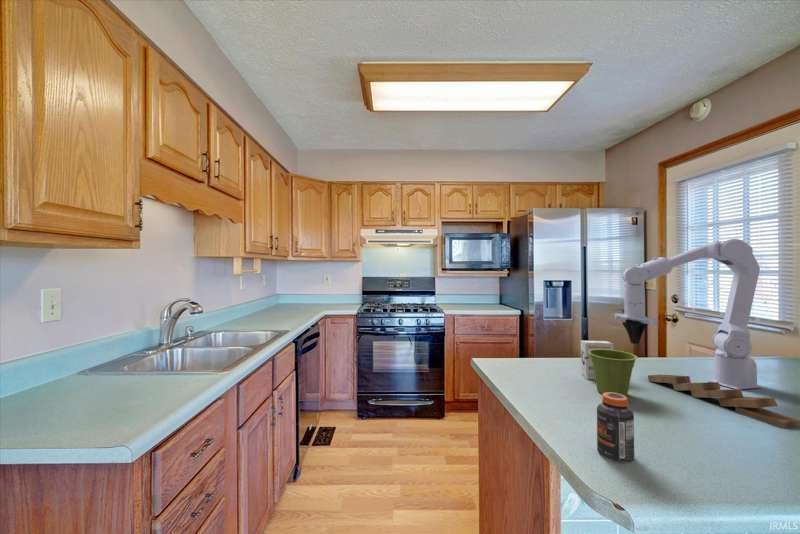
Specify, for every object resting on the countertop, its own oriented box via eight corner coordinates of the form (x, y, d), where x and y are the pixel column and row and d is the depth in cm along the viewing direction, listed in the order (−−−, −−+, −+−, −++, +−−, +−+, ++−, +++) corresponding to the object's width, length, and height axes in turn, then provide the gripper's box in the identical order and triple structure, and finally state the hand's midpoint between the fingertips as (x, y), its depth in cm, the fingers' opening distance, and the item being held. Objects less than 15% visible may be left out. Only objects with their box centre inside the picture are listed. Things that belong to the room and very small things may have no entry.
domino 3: (706, 389, 93) (740, 389, 84) (709, 396, 92) (743, 397, 84) (690, 390, 92) (722, 390, 84) (692, 397, 92) (725, 398, 83)
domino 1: (660, 374, 106) (689, 376, 98) (662, 380, 106) (690, 382, 97) (647, 375, 105) (675, 377, 97) (648, 381, 105) (676, 383, 96)
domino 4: (735, 396, 86) (774, 397, 78) (738, 404, 86) (777, 406, 77) (717, 398, 86) (754, 399, 78) (720, 405, 85) (758, 407, 77)
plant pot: (592, 398, 92) (591, 356, 92) (585, 384, 103) (585, 347, 103) (643, 404, 87) (643, 361, 87) (631, 389, 98) (631, 350, 98)
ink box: (608, 376, 111) (608, 340, 111) (615, 380, 106) (614, 343, 106) (580, 374, 112) (580, 339, 112) (586, 379, 107) (585, 342, 108)
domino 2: (687, 383, 98) (718, 382, 90) (689, 389, 98) (720, 389, 89) (672, 383, 98) (701, 382, 89) (674, 390, 97) (704, 390, 89)
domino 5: (750, 404, 83) (800, 420, 75) (750, 411, 83) (800, 428, 75) (735, 406, 82) (784, 422, 74) (735, 413, 82) (784, 430, 74)
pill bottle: (590, 447, 66) (589, 390, 66) (618, 446, 66) (617, 389, 66) (611, 465, 60) (611, 401, 60) (642, 463, 60) (641, 400, 60)
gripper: (606, 301, 119) (607, 339, 119) (644, 305, 105) (645, 348, 104) (623, 300, 120) (624, 338, 120) (662, 304, 106) (663, 347, 106)
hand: (635, 343), depth 112 cm, fingers closed
